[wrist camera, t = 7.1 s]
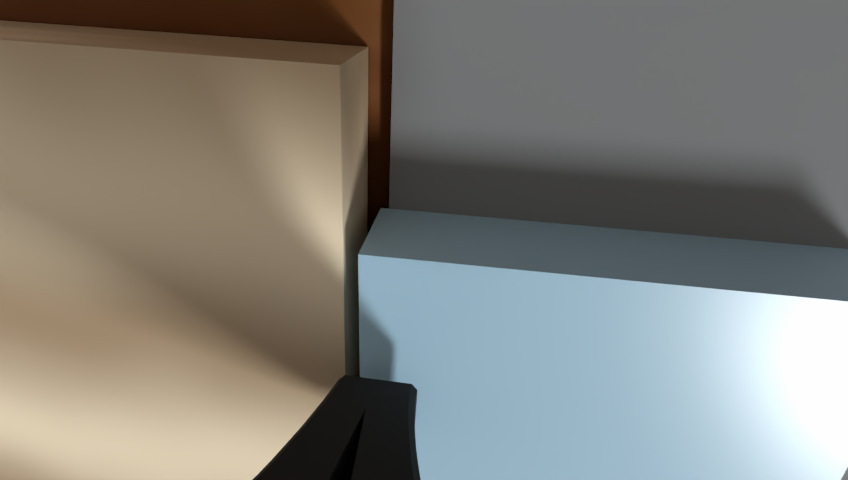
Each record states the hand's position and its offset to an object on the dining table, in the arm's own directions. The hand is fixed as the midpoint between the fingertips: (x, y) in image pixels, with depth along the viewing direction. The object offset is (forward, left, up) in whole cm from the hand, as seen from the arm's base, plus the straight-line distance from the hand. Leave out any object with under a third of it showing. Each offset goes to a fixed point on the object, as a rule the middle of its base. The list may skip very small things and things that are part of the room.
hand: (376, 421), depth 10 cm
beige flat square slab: (0, +7, -3) cm, 7 cm away
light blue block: (0, -4, -3) cm, 5 cm away
